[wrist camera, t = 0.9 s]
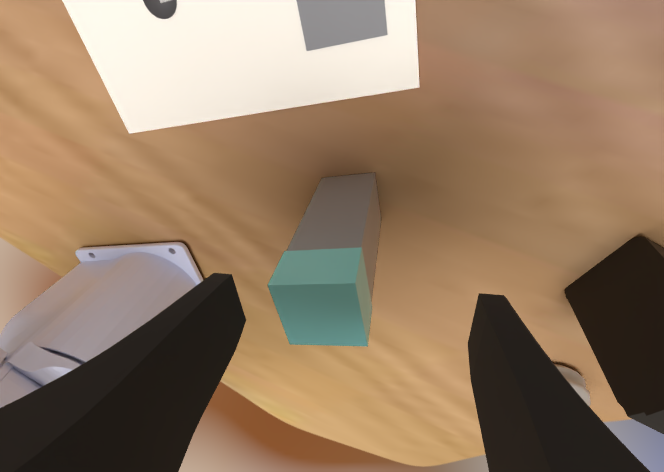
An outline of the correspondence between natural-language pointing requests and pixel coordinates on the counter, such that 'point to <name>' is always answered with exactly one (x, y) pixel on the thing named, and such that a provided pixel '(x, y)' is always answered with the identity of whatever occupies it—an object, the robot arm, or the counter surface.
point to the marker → (331, 265)
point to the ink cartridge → (627, 325)
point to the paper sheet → (244, 54)
